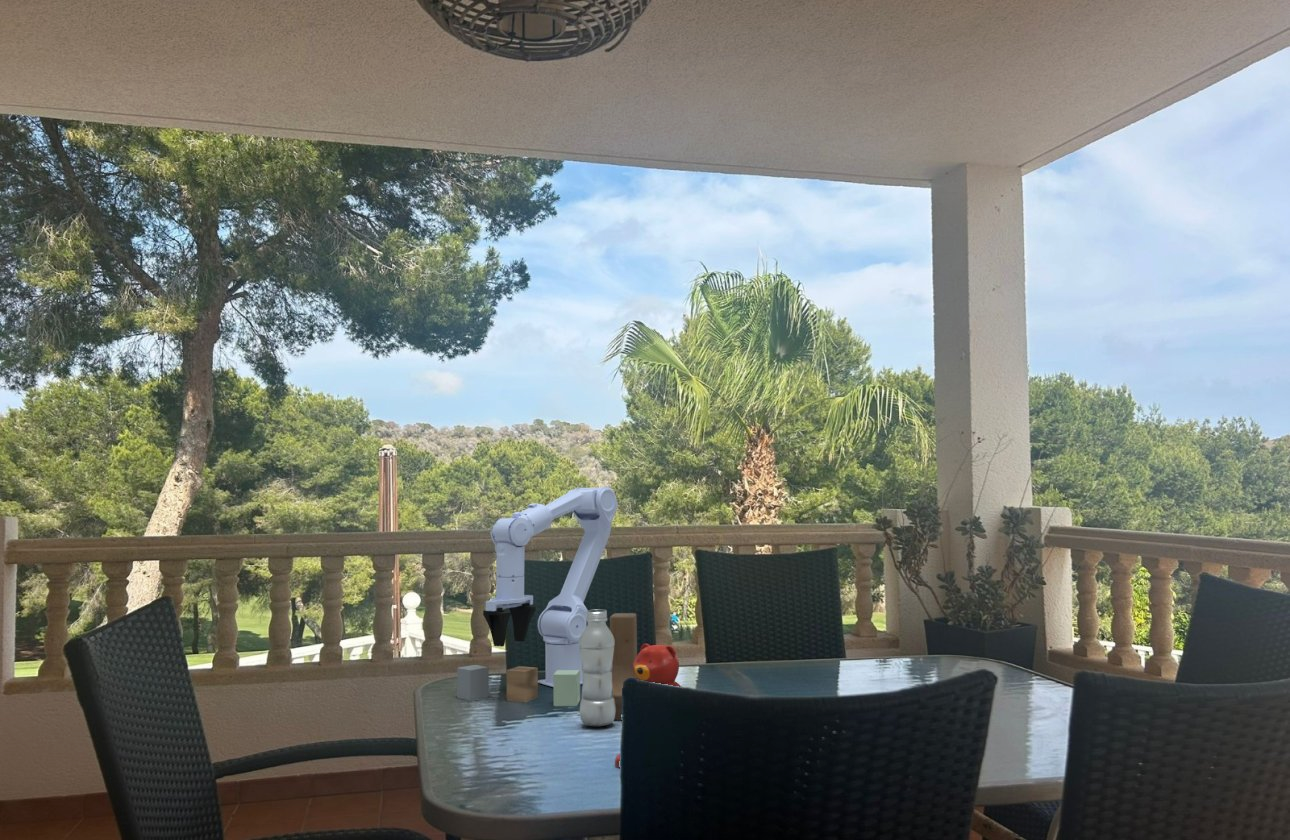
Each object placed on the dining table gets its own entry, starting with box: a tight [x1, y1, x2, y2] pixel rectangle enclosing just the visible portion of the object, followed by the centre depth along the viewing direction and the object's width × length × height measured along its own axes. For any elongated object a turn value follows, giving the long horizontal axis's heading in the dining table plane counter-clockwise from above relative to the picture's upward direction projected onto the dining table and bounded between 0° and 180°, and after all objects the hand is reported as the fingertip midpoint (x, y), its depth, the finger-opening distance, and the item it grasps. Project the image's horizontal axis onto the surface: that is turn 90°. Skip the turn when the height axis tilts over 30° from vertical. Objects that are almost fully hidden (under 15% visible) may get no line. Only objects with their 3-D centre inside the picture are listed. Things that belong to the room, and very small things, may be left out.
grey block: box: [456, 664, 490, 702], centre depth 190 cm, size 4×4×6 cm
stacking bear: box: [614, 643, 682, 768], centre depth 140 cm, size 11×10×18 cm
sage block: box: [552, 670, 581, 707], centre depth 183 cm, size 4×4×6 cm
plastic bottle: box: [579, 609, 616, 728], centre depth 165 cm, size 6×7×20 cm
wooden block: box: [609, 612, 638, 721], centre depth 173 cm, size 9×4×18 cm, turn 173°
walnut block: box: [506, 666, 539, 703], centre depth 187 cm, size 4×4×6 cm
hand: (509, 643), depth 191 cm, fingers open, 7 cm apart
